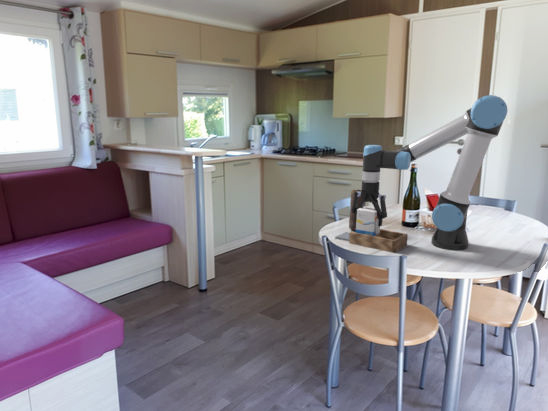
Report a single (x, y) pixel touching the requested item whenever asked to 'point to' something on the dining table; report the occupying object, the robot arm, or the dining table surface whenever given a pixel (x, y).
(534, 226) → the dining table surface
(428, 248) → the dining table surface
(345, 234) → the slate pad
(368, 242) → the wooden tray
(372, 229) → the ink box
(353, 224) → the candle
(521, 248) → the dining table surface
